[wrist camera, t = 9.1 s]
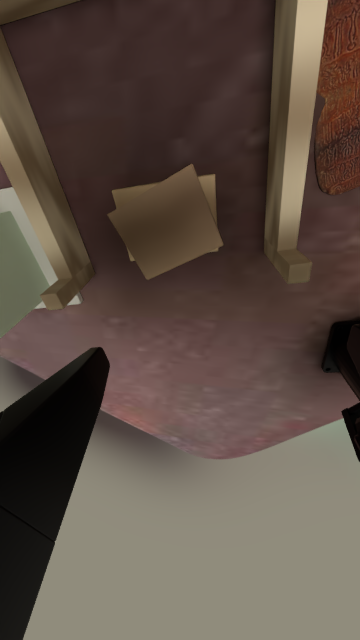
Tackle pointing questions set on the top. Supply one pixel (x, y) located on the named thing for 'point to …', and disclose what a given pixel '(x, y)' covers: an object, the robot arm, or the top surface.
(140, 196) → the tan flat block
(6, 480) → the robot arm
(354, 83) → the wooden tablet
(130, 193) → the oak offcut
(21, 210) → the grey mat
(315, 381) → the top surface
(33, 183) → the rack
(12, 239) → the sage green prism
